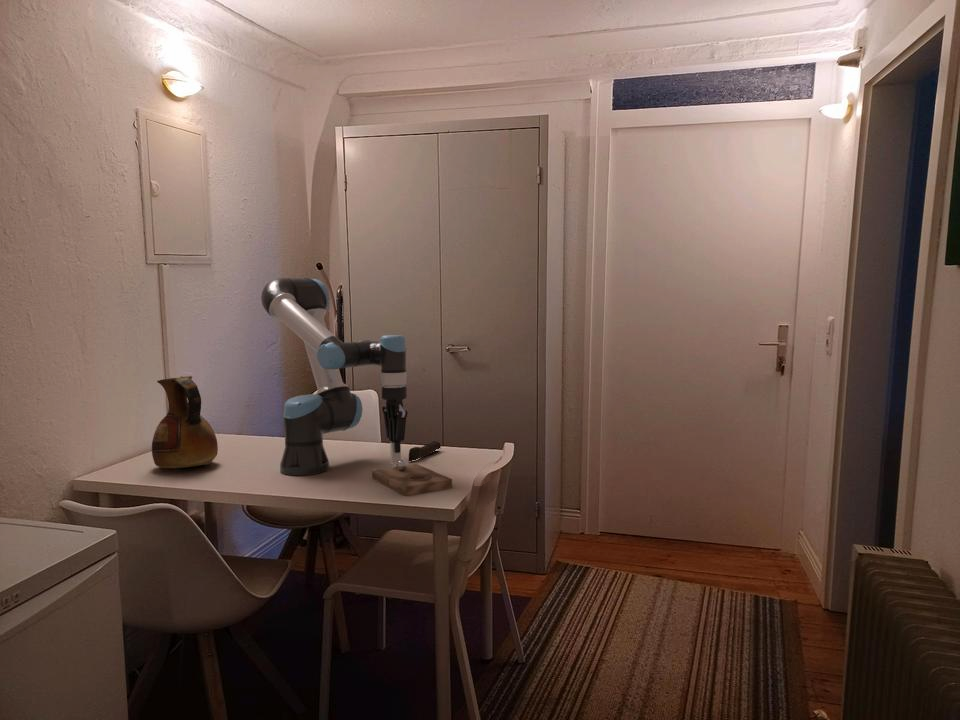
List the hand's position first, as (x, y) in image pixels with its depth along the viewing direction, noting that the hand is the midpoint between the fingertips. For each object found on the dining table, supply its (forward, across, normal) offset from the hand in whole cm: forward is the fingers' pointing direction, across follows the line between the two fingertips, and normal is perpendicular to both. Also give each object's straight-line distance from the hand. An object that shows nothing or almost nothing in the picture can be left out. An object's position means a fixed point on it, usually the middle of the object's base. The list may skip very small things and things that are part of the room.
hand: (395, 462), depth 213 cm
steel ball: (0, -4, 0) cm, 4 cm away
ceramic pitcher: (+4, +48, +52) cm, 71 cm away
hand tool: (+5, +17, -19) cm, 26 cm away
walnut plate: (+4, -10, 0) cm, 11 cm away
